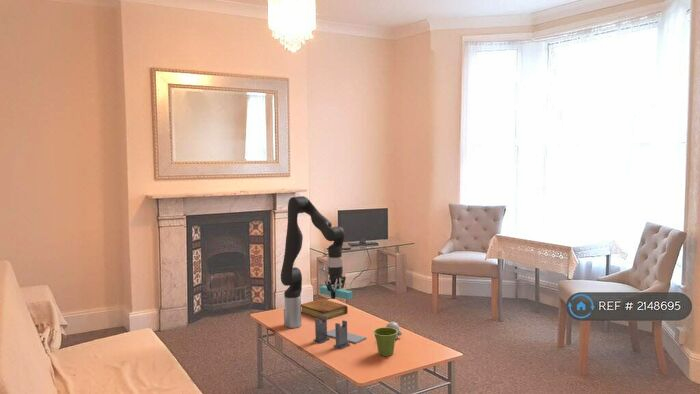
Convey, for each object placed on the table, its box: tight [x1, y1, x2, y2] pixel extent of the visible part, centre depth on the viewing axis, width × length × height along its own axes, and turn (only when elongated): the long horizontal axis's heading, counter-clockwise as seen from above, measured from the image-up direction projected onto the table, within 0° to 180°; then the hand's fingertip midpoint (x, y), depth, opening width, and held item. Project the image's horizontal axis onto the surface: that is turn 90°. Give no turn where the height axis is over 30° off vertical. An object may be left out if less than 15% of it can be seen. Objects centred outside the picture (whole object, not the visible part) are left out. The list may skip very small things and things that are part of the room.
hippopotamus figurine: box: [385, 321, 403, 340], centre depth 287 cm, size 7×12×8 cm, turn 129°
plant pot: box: [372, 326, 398, 357], centre depth 266 cm, size 12×12×11 cm
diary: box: [301, 298, 349, 321], centre depth 336 cm, size 23×19×6 cm
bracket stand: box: [313, 316, 351, 350], centre depth 282 cm, size 19×7×12 cm, turn 50°
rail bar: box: [319, 285, 354, 301], centre depth 285 cm, size 20×4×4 cm, turn 49°
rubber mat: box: [327, 328, 367, 345], centre depth 292 cm, size 23×9×1 cm, turn 50°
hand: (335, 297), depth 285 cm, fingers closed on rail bar, 3 cm apart
